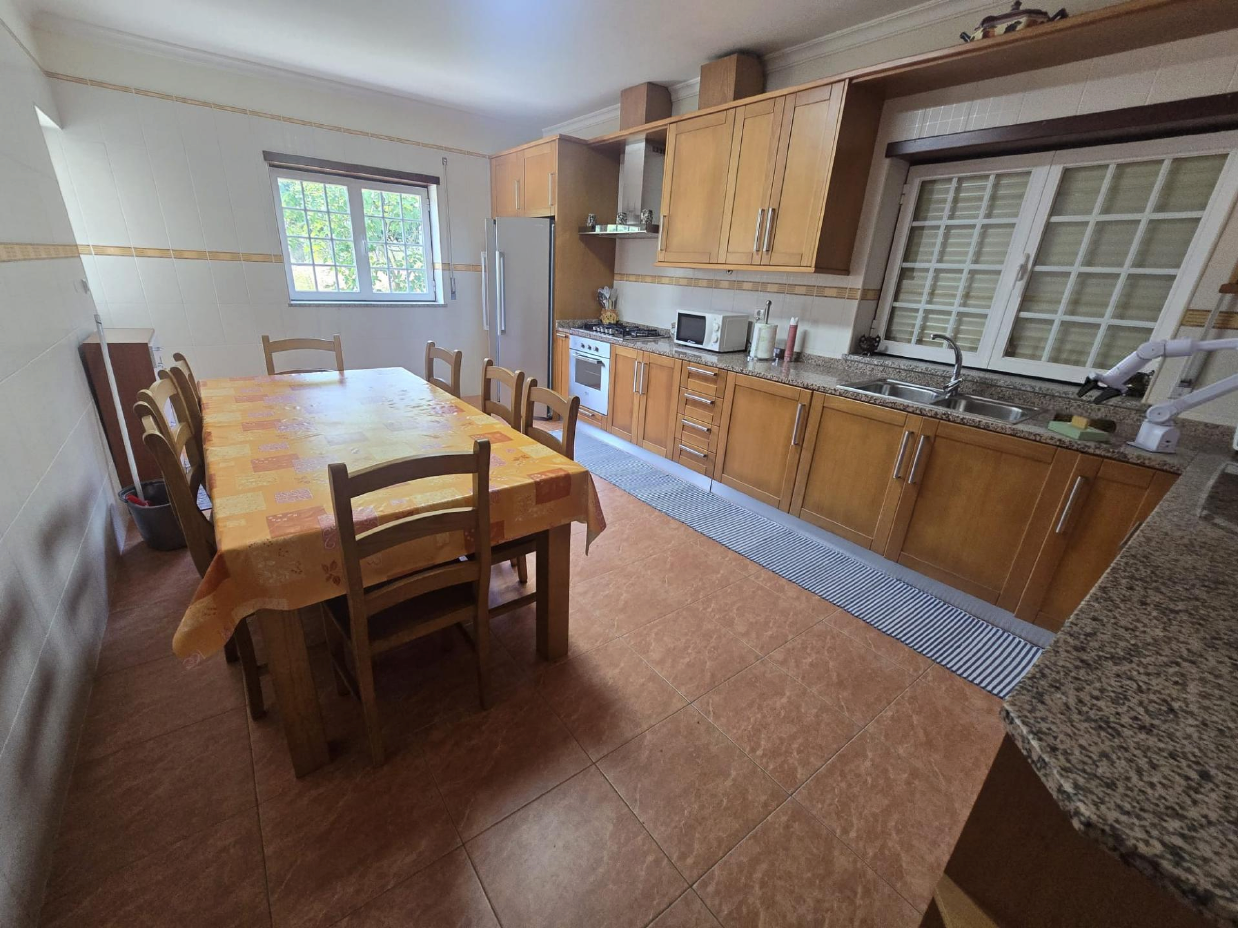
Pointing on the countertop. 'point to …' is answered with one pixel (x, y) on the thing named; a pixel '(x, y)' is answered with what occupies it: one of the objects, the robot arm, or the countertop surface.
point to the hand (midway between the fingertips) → (1086, 399)
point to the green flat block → (1078, 431)
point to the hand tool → (1095, 423)
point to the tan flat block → (1080, 422)
